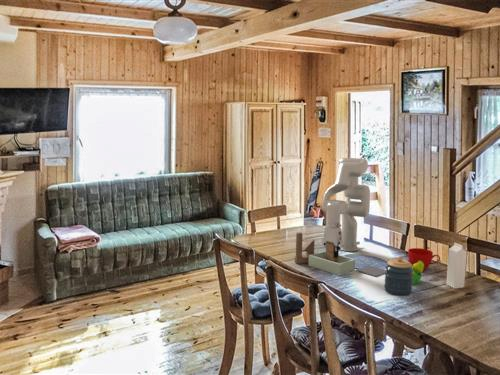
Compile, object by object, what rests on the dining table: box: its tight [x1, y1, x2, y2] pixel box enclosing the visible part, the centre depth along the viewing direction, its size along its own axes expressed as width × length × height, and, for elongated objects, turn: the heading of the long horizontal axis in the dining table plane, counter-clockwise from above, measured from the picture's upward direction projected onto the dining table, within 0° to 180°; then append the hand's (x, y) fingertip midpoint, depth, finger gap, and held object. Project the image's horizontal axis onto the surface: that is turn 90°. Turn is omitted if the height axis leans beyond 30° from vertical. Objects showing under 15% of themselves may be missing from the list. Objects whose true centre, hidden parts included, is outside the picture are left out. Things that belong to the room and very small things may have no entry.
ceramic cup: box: [407, 247, 441, 271], centre depth 257 cm, size 13×17×10 cm
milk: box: [445, 242, 468, 289], centre depth 230 cm, size 6×6×22 cm
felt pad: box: [355, 264, 386, 278], centre depth 253 cm, size 13×13×1 cm
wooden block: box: [294, 231, 315, 265], centre depth 266 cm, size 4×11×18 cm, turn 104°
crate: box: [307, 250, 356, 276], centre depth 258 cm, size 14×22×6 cm, turn 42°
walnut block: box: [325, 241, 338, 262], centre depth 258 cm, size 5×5×12 cm
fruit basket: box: [411, 261, 424, 285], centre depth 237 cm, size 11×9×11 cm
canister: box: [383, 255, 413, 297], centre depth 222 cm, size 13×13×18 cm
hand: (332, 255), depth 258 cm, fingers closed on walnut block, 5 cm apart
